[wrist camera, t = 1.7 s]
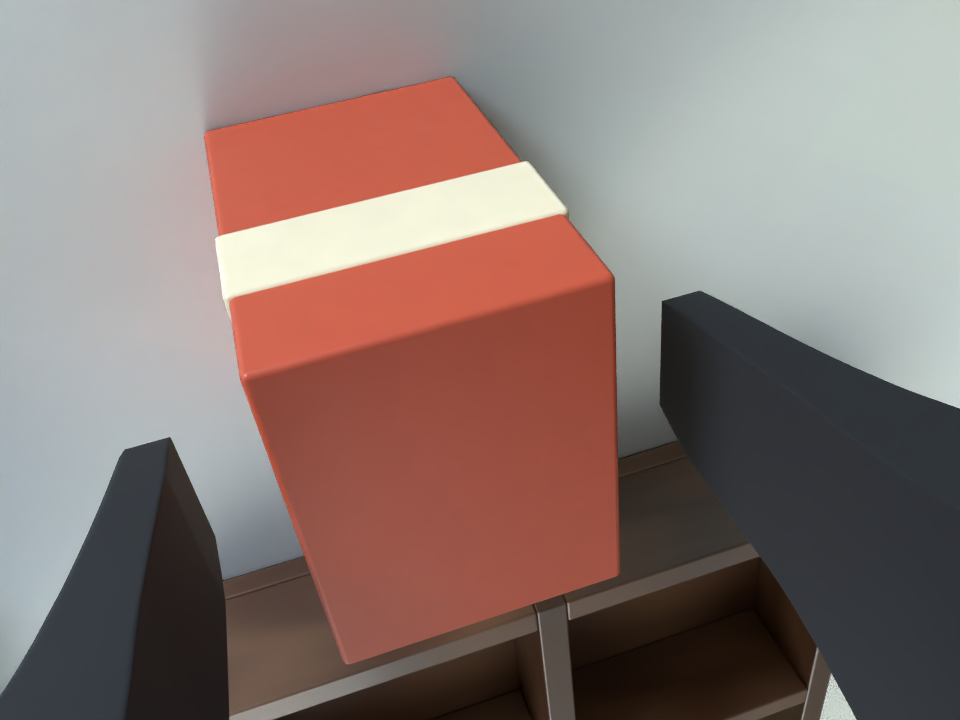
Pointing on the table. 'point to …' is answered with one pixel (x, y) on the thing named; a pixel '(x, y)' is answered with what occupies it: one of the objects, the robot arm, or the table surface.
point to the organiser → (558, 634)
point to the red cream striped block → (420, 360)
